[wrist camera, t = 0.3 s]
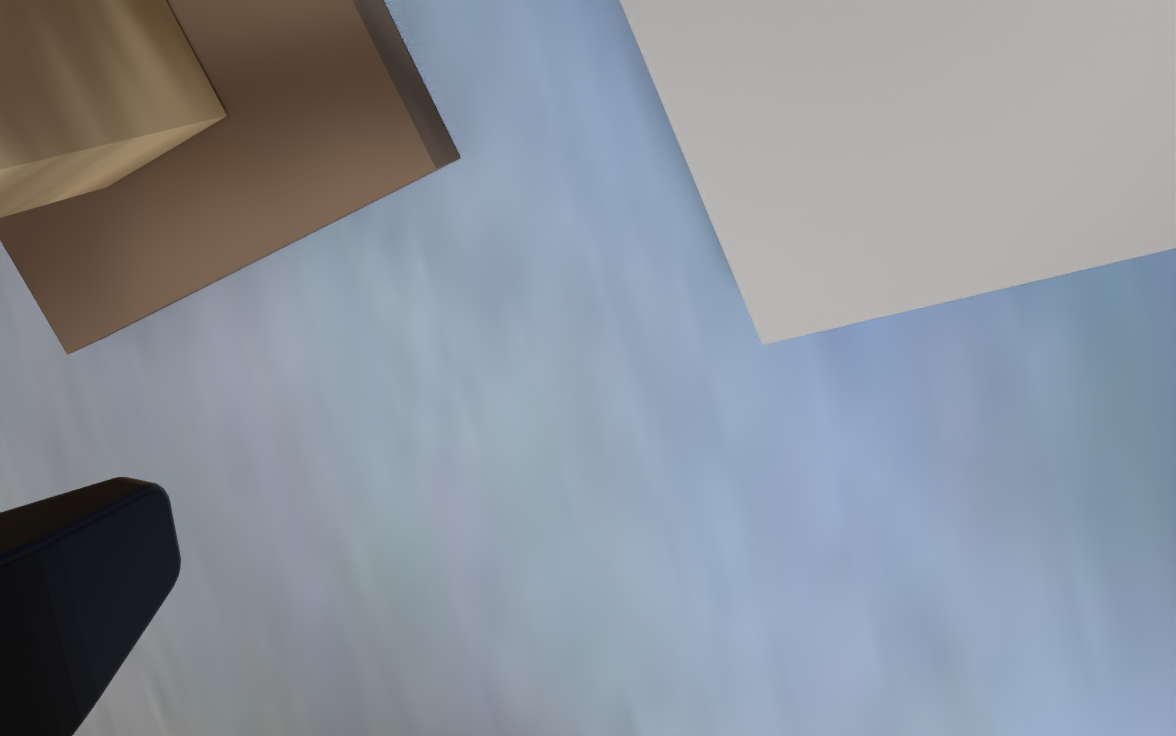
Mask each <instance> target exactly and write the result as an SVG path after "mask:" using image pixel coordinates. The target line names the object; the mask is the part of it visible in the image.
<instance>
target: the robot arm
mask: <svg viewBox="0 0 1176 736" xmlns="http://www.w3.org/2000/svg"><path fill="white" fill-rule="evenodd" d="M180 565H181V557H180V551H179V545H178V540H177V535H176V530H175V524H174V519H173V514H172V509H171V503H170V499H169V496H168V494H167V493H166V491H165V490H164V488H163V487H161V486H159V485H158V484H156V483H151V482H147V481H142V480H138V479H133V478H128V477H117V478H113V479H110V480H106V481H103V482H100V483H96V484H93V485H90V486H87V487H83V488H80V489H77V490H73V491H70V492H67V493H63V494H60V495H57V496H54V497H50V498H47V499H44V500H40V501H37V502H34V503H31V504H27V505H24V506H21V507H17V508H14V509H11V510H7V511H4V512H1V513H0V736H72V735H73V734H74V733H75V731H76V730H77V729H78V728H79V726H80V725H81V724H82V722H83V721H84V720H85V718H86V717H87V715H88V714H89V712H90V711H91V710H92V708H93V707H94V705H95V704H96V702H97V701H98V700H99V698H100V697H101V695H102V694H103V692H104V691H105V689H106V688H107V686H108V685H109V683H110V682H111V680H112V679H113V677H114V676H115V674H116V673H117V671H118V670H119V668H120V667H121V665H122V664H123V662H124V661H125V659H126V658H127V656H128V655H129V653H130V652H131V650H132V649H133V647H134V646H135V644H136V643H137V641H138V640H139V638H140V637H141V635H142V634H143V632H144V631H145V629H146V628H147V626H148V625H149V623H150V622H151V620H152V619H153V617H154V616H155V614H156V612H157V611H158V609H159V608H160V606H161V605H162V603H163V602H164V600H165V599H166V597H167V596H168V594H169V593H170V591H171V590H172V588H173V587H174V585H175V583H176V581H177V578H178V575H179V571H180Z"/></svg>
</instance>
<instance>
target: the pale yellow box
mask: <svg viewBox="0 0 1176 736" xmlns="http://www.w3.org/2000/svg"><path fill="white" fill-rule="evenodd" d="M226 116H227V115H226V113H225V111H224V109H223V107H222V105H221V103H220V101H219V100H218V98H217V96H216V94H215V92H214V90H213V88H212V86H211V84H210V83H209V81H208V79H207V77H206V75H205V73H204V71H203V69H202V68H201V66H200V64H199V62H198V60H197V58H196V56H195V54H194V52H193V51H192V49H191V47H190V45H189V43H188V41H187V39H186V37H185V36H184V34H183V32H182V30H181V28H180V26H179V24H178V22H177V20H176V19H175V17H174V15H173V13H172V11H171V9H170V7H169V5H168V4H167V2H166V0H0V218H1V217H5V216H8V215H12V214H15V213H19V212H22V211H26V210H29V209H32V208H36V207H39V206H43V205H46V204H50V203H53V202H57V201H60V200H64V199H67V198H71V197H74V196H78V195H81V194H85V193H88V192H92V191H95V190H99V189H102V188H106V187H108V186H110V185H111V184H113V183H115V182H116V181H118V180H120V179H121V178H123V177H125V176H127V175H128V174H130V173H132V172H133V171H135V170H137V169H138V168H140V167H142V166H143V165H145V164H147V163H148V162H150V161H152V160H153V159H155V158H157V157H159V156H160V155H162V154H164V153H165V152H167V151H169V150H170V149H172V148H174V147H175V146H177V145H179V144H180V143H182V142H184V141H185V140H187V139H189V138H191V137H192V136H194V135H196V134H197V133H199V132H201V131H202V130H204V129H206V128H207V127H209V126H211V125H212V124H214V123H216V122H217V121H219V120H221V119H222V118H224V117H226Z"/></svg>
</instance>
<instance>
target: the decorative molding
mask: <svg viewBox="0 0 1176 736" xmlns="http://www.w3.org/2000/svg"><path fill="white" fill-rule="evenodd" d="M620 2H621V5H622V7H623V10H624V12H625V15H626V17H627V19H628V22H629V24H630V27H631V29H632V31H633V34H634V36H635V39H636V41H637V44H638V46H639V48H640V51H641V53H642V56H643V58H644V60H645V63H646V65H647V68H648V70H649V72H650V75H651V77H652V80H653V82H654V85H655V87H656V89H657V92H658V94H659V97H660V99H661V101H662V104H663V106H664V109H665V111H666V114H667V116H668V118H669V121H670V123H671V126H672V128H673V130H674V133H675V135H676V138H677V140H678V142H679V145H680V147H681V150H682V152H683V154H684V157H685V159H686V162H687V164H688V167H689V169H690V171H691V174H692V176H693V179H694V181H695V183H696V186H697V188H698V191H699V193H700V196H701V198H702V200H703V203H704V205H705V208H706V210H707V212H708V215H709V217H710V220H711V222H712V225H713V227H714V229H715V232H716V234H717V237H718V239H719V241H720V244H721V246H722V249H723V251H724V253H725V256H726V258H727V261H728V263H729V266H730V268H731V270H732V273H733V275H734V278H735V280H736V282H737V285H738V287H739V290H740V292H741V295H742V297H743V299H744V302H745V304H746V307H747V309H748V311H749V314H750V316H751V319H752V321H753V324H754V326H755V328H756V331H757V333H758V336H759V338H760V340H761V343H762V345H765V344H769V343H773V342H778V341H782V340H786V339H791V338H795V337H799V336H803V335H808V334H812V333H816V332H820V331H825V330H829V329H833V328H837V327H842V326H846V325H850V324H855V323H859V322H863V321H867V320H872V319H876V318H880V317H884V316H889V315H893V314H897V313H902V312H906V311H910V310H914V309H919V308H923V307H927V306H931V305H936V304H940V303H944V302H949V301H953V300H957V299H961V298H966V297H970V296H974V295H978V294H983V293H987V292H991V291H995V290H1000V289H1004V288H1008V287H1013V286H1017V285H1021V284H1025V283H1030V282H1034V281H1038V280H1042V279H1047V278H1051V277H1055V276H1060V275H1064V274H1068V273H1072V272H1077V271H1081V270H1085V269H1089V268H1094V267H1098V266H1102V265H1107V264H1111V263H1115V262H1119V261H1124V260H1128V259H1132V258H1136V257H1141V256H1145V255H1149V254H1153V253H1158V252H1162V251H1166V250H1171V249H1175V248H1176V0H620Z"/></svg>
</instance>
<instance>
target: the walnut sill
mask: <svg viewBox="0 0 1176 736" xmlns="http://www.w3.org/2000/svg"><path fill="white" fill-rule="evenodd" d="M166 2H167V4H168V5H169V7H170V9H171V11H172V13H173V15H174V17H175V19H176V20H177V22H178V24H179V26H180V28H181V30H182V32H183V34H184V36H185V37H186V39H187V41H188V43H189V45H190V47H191V49H192V51H193V52H194V54H195V56H196V58H197V60H198V62H199V64H200V66H201V68H202V69H203V71H204V73H205V75H206V77H207V79H208V81H209V83H210V84H211V86H212V88H213V90H214V92H215V94H216V96H217V98H218V100H219V101H220V103H221V105H222V107H223V109H224V111H225V113H226V115H227V116H226V117H224V118H222V119H221V120H219V121H217V122H216V123H214V124H212V125H211V126H209V127H207V128H206V129H204V130H202V131H201V132H199V133H197V134H196V135H194V136H192V137H191V138H189V139H187V140H185V141H184V142H182V143H180V144H179V145H177V146H175V147H174V148H172V149H170V150H169V151H167V152H165V153H164V154H162V155H160V156H159V157H157V158H155V159H153V160H152V161H150V162H148V163H147V164H145V165H143V166H142V167H140V168H138V169H137V170H135V171H133V172H132V173H130V174H128V175H127V176H125V177H123V178H121V179H120V180H118V181H116V182H115V183H113V184H111V185H110V186H108V187H106V188H102V189H99V190H95V191H92V192H88V193H85V194H81V195H78V196H74V197H71V198H67V199H64V200H60V201H57V202H53V203H50V204H46V205H43V206H39V207H36V208H32V209H29V210H26V211H22V212H19V213H15V214H12V215H8V216H5V217H1V218H0V240H1V242H2V244H3V246H4V247H5V249H6V251H7V252H8V254H9V256H10V257H11V259H12V261H13V263H14V264H15V266H16V268H17V269H18V271H19V273H20V275H21V276H22V278H23V280H24V281H25V283H26V285H27V286H28V288H29V290H30V292H31V293H32V295H33V297H34V298H35V300H36V302H37V303H38V305H39V307H40V309H41V310H42V312H43V314H44V315H45V317H46V319H47V321H48V322H49V324H50V326H51V327H52V329H53V331H54V332H55V334H56V336H57V338H58V339H59V341H60V343H61V344H62V346H63V348H64V350H65V351H66V353H67V355H68V354H70V353H72V352H75V351H77V350H79V349H81V348H83V347H86V346H88V345H90V344H92V343H94V342H97V341H99V340H101V339H103V338H105V337H107V336H109V335H111V334H113V333H115V332H117V331H119V330H121V329H123V328H125V327H127V326H129V325H131V324H133V323H135V322H137V321H139V320H141V319H143V318H145V317H147V316H149V315H151V314H153V313H155V312H157V311H158V310H160V309H162V308H164V307H166V306H168V305H170V304H172V303H174V302H176V301H178V300H180V299H182V298H184V297H186V296H188V295H190V294H192V293H194V292H196V291H198V290H200V289H202V288H204V287H206V286H208V285H210V284H212V283H214V282H216V281H218V280H220V279H222V278H224V277H226V276H228V275H230V274H232V273H234V272H236V271H238V270H240V269H242V268H244V267H246V266H248V265H250V264H252V263H254V262H256V261H258V260H260V259H262V258H264V257H266V256H268V255H270V254H272V253H274V252H276V251H278V250H280V249H281V248H283V247H285V246H287V245H289V244H291V243H293V242H295V241H297V240H299V239H301V238H303V237H305V236H307V235H309V234H311V233H313V232H315V231H317V230H319V229H321V228H323V227H325V226H327V225H329V224H331V223H333V222H335V221H337V220H339V219H341V218H343V217H345V216H347V215H349V214H351V213H353V212H355V211H357V210H359V209H361V208H363V207H365V206H367V205H369V204H371V203H373V202H375V201H377V200H379V199H381V198H383V197H385V196H387V195H389V194H391V193H393V192H395V191H397V190H399V189H401V188H403V187H404V186H406V185H408V184H410V183H412V182H414V181H416V180H418V179H420V178H422V177H424V176H426V175H428V174H430V173H432V172H434V171H436V170H438V169H440V168H442V167H444V166H446V165H448V164H450V163H452V162H454V161H456V160H458V159H460V156H459V154H458V152H457V150H456V148H455V146H454V144H453V142H452V140H451V138H450V136H449V134H448V132H447V130H446V128H445V126H444V124H443V122H442V119H441V117H440V115H439V113H438V111H437V109H436V107H435V105H434V103H433V101H432V99H431V97H430V95H429V93H428V91H427V89H426V87H425V85H424V83H423V81H422V79H421V77H420V75H419V73H418V71H417V69H416V67H415V65H414V63H413V61H412V58H411V56H410V54H409V52H408V50H407V48H406V46H405V44H404V42H403V40H402V38H401V36H400V34H399V32H398V30H397V28H396V26H395V24H394V22H393V20H392V18H391V16H390V14H389V12H388V10H387V8H386V6H385V4H384V2H383V0H166Z"/></svg>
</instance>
